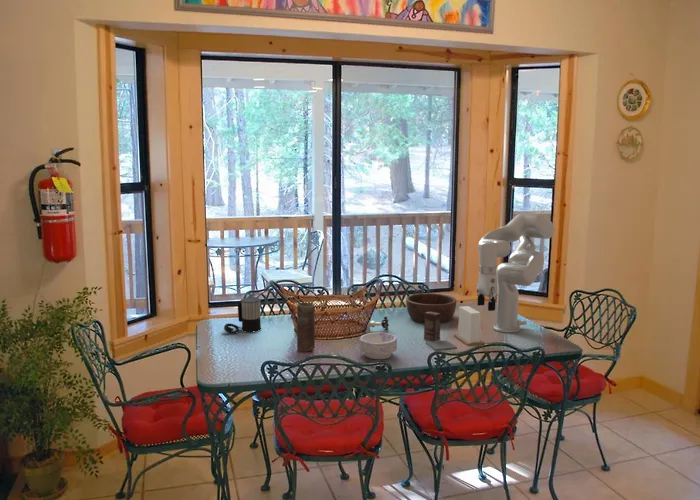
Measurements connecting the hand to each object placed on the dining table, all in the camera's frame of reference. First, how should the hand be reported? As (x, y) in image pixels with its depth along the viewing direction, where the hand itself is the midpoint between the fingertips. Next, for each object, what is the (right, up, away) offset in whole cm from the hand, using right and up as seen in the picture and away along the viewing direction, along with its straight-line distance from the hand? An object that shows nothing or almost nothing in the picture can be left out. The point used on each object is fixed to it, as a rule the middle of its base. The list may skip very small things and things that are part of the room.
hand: (486, 307), depth 265 cm
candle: (-79, -17, -13) cm, 82 cm away
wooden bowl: (-20, -9, +36) cm, 42 cm away
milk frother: (-110, -13, +14) cm, 112 cm away
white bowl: (-49, -18, -20) cm, 56 cm away
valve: (-49, -12, +15) cm, 53 cm away
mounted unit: (-8, -14, 0) cm, 16 cm away
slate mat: (-21, -16, -8) cm, 27 cm away
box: (-24, -14, +2) cm, 28 cm away
